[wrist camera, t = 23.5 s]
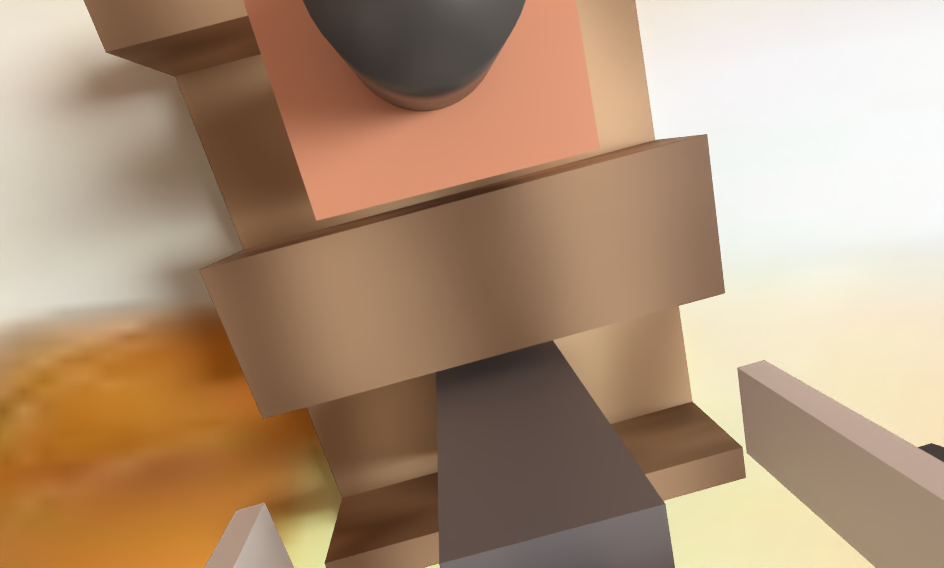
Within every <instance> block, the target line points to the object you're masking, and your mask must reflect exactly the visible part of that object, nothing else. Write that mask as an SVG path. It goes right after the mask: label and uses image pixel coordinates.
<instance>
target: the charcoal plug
mask: <svg viewBox="0 0 944 568" xmlns="http://www.w3.org/2000/svg"><path fill="white" fill-rule="evenodd" d="M436 396H437V459H438V523H439V565H440V568H675V565H674V559H673V552H672V545H671V539H670V532H669V525H668V519H667V512H666V506H665V503H664V501H663V500H662V499H661V497H660V496H659V494H658V493H657V491H656V490H655V488H654V487H653V485H652V484H651V483H650V481H649V480H648V478H647V477H646V475H645V474H644V472H643V471H642V469H641V468H640V466H639V465H638V464H637V462H636V461H635V459H634V458H633V456H632V455H631V453H630V452H629V450H628V449H627V448H626V446H625V445H624V443H623V442H622V440H621V439H620V437H619V436H618V434H617V433H616V432H615V430H614V429H613V427H612V426H611V424H610V423H609V421H608V420H607V418H606V417H605V415H604V414H603V413H602V411H601V410H600V408H599V407H598V405H597V404H596V402H595V401H594V399H593V398H592V397H591V395H590V394H589V392H588V391H587V389H586V388H585V386H584V385H583V383H582V382H581V381H580V379H579V378H578V376H577V375H576V373H575V372H574V370H573V369H572V367H571V366H570V364H569V363H568V362H567V360H566V359H565V357H564V356H563V354H562V353H561V351H560V350H559V348H558V347H557V346H556V344H555V343H554V341H553V340H551V341H548V342H544V343H540V344H537V345H533V346H529V347H526V348H522V349H518V350H515V351H511V352H507V353H504V354H500V355H496V356H493V357H489V358H485V359H482V360H478V361H474V362H471V363H467V364H464V365H460V366H456V367H453V368H449V369H445V370H442V371H438V372H436Z"/></svg>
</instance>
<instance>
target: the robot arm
mask: <svg viewBox="0 0 944 568" xmlns="http://www.w3.org/2000/svg"><path fill="white" fill-rule="evenodd" d="M737 369H738V378H739V387H740V395H741V404H742V413H743V422H744V431H745V440H746V449H747V453H748V454H749V455H750V456H751V457H752V458H753V459H754V460H755V461H757V462H758V463H759V464H760V465H761V466H762V467H763V468H764V469H766V470H767V471H768V472H769V473H770V474H771V475H772V476H773V477H775V478H776V479H777V480H778V481H779V482H780V483H781V484H782V485H784V486H785V487H786V488H787V489H788V490H789V491H790V492H791V493H793V494H794V495H795V496H796V497H797V498H798V499H799V500H800V501H802V502H803V503H804V504H805V505H806V506H807V507H808V508H809V509H811V510H812V511H813V512H814V513H815V514H816V515H817V516H818V517H820V518H821V519H822V520H823V521H824V522H825V523H826V524H827V525H829V526H830V527H831V528H832V529H833V530H834V531H835V532H836V533H838V534H839V535H840V536H841V537H842V538H843V539H844V540H845V541H847V542H848V543H849V544H850V545H851V546H852V547H853V548H854V549H856V550H857V551H858V552H859V553H860V554H861V555H862V556H863V557H865V558H866V559H867V560H868V561H869V562H870V563H871V564H872V565H874V566H875V567H876V568H944V447H941V446H938V445H935V444H932V443H931V444H928V445H924V446H921V447H916V446H914V445H912V444H911V443H909V442H907V441H905V440H904V439H902V438H900V437H898V436H897V435H895V434H893V433H891V432H890V431H888V430H886V429H884V428H882V427H881V426H879V425H877V424H875V423H874V422H872V421H870V420H868V419H867V418H865V417H863V416H861V415H860V414H858V413H856V412H854V411H853V410H851V409H849V408H847V407H846V406H844V405H842V404H840V403H839V402H837V401H835V400H833V399H832V398H830V397H828V396H826V395H825V394H823V393H821V392H819V391H818V390H816V389H814V388H812V387H810V386H809V385H807V384H805V383H803V382H802V381H800V380H798V379H796V378H795V377H793V376H791V375H789V374H788V373H786V372H784V371H782V370H781V369H779V368H777V367H775V366H774V365H772V364H770V363H768V362H767V361H765V360H763V361H759V362H756V363H752V364H749V365H745V366H742V367H738V368H737ZM205 568H294V566H293V564H292V562H291V560H290V558H289V555H288V553H287V551H286V549H285V546H284V544H283V542H282V540H281V538H280V535H279V533H278V531H277V529H276V526H275V524H274V522H273V520H272V518H271V515H270V513H269V511H268V509H267V506H266V504H265V502H264V503H261V504H257V505H254V506H250V507H247V508H243V509H240V510H236V512H235V513H234V515H233V517H232V519H231V521H230V522H229V524H228V526H227V528H226V530H225V531H224V533H223V535H222V537H221V539H220V540H219V542H218V544H217V546H216V548H215V550H214V551H213V553H212V555H211V557H210V559H209V560H208V562H207V564H206V566H205Z"/></svg>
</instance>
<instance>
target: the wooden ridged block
mask: <svg viewBox="0 0 944 568" xmlns="http://www.w3.org/2000/svg"><path fill="white" fill-rule="evenodd" d="M84 2H85V4H86V7H87V9H88V11H89V14H90V16H91V18H92V21H93V23H94V25H95V28H96V30H97V33H98V35H99V37H100V40H101V42H102V44H103V47H104V49H105V51H106V53H109V54H112V55H115V56H118V57H121V58H124V59H127V60H130V61H133V62H135V63H138V64H141V65H144V66H147V67H150V68H153V69H156V70H159V71H161V72H164V73H167V74H170V75H173V76H175V77H176V79H177V82H178V84H179V87H180V90H181V92H182V95H183V97H184V100H185V102H186V105H187V107H188V110H189V112H190V115H191V117H192V120H193V122H194V125H195V127H196V130H197V132H198V135H199V137H200V140H201V143H202V145H203V148H204V150H205V153H206V155H207V158H208V160H209V163H210V165H211V168H212V170H213V173H214V175H215V178H216V180H217V183H218V185H219V188H220V191H221V193H222V196H223V198H224V201H225V203H226V206H227V208H228V211H229V213H230V216H231V218H232V221H233V223H234V226H235V228H236V231H237V233H238V236H239V238H240V241H241V244H242V246H243V249H244V250H243V251H240V252H238V253H236V254H234V255H231V256H229V257H227V258H225V259H223V260H220V261H218V262H216V263H214V264H211V265H209V266H207V267H205V268H202V269H200V270H199V271H200V273H201V276H202V278H203V280H204V283H205V285H206V287H207V290H208V292H209V294H210V297H211V299H212V301H213V304H214V306H215V308H216V311H217V313H218V315H219V318H220V320H221V322H222V325H223V327H224V329H225V332H226V334H227V336H228V339H229V341H230V343H231V346H232V348H233V350H234V353H235V355H236V357H237V360H238V362H239V364H240V367H241V369H242V371H243V374H244V376H245V378H246V381H247V383H248V385H249V388H250V390H251V392H252V395H253V397H254V399H255V402H256V404H257V406H258V409H259V411H260V414H261V416H262V418H263V419H266V418H269V417H273V416H277V415H280V414H284V413H288V412H291V411H295V410H299V409H302V408H307V410H308V413H309V415H310V418H311V420H312V423H313V425H314V428H315V430H316V433H317V435H318V438H319V441H320V443H321V446H322V448H323V451H324V453H325V456H326V458H327V461H328V463H329V466H330V468H331V471H332V473H333V476H334V478H335V481H336V483H337V486H338V488H339V491H340V494H341V496H342V502H341V505H340V509H339V513H338V516H337V520H336V524H335V527H334V531H333V535H332V538H331V542H330V546H329V549H328V553H327V557H326V560H325V565H326V568H424V567H428V566H431V565H435V564H438V563H439V523H438V459H437V396H436V372H438V371H442V370H445V369H449V368H453V367H456V366H460V365H464V364H467V363H471V362H474V361H478V360H482V359H485V358H489V357H493V356H496V355H500V354H504V353H507V352H511V351H515V350H518V349H522V348H526V347H529V346H533V345H537V344H540V343H544V342H548V341H551V340H553V341H554V343H555V344H556V346H557V347H558V348H559V350H560V351H561V353H562V354H563V356H564V357H565V359H566V360H567V362H568V363H569V364H570V366H571V367H572V369H573V370H574V372H575V373H576V375H577V376H578V378H579V379H580V381H581V382H582V383H583V385H584V386H585V388H586V389H587V391H588V392H589V394H590V395H591V397H592V398H593V399H594V401H595V402H596V404H597V405H598V407H599V408H600V410H601V411H602V413H603V414H604V415H605V417H606V418H607V420H608V421H609V423H610V424H611V426H612V427H613V429H614V430H615V432H616V433H617V434H618V436H619V437H620V439H621V440H622V442H623V443H624V445H625V446H626V448H627V449H628V450H629V452H630V453H631V455H632V456H633V458H634V459H635V461H636V462H637V464H638V465H639V466H640V468H641V469H642V471H643V472H644V474H645V475H646V477H647V478H648V480H649V481H650V483H651V484H652V485H653V487H654V488H655V490H656V491H657V493H658V494H659V496H660V497H661V499H662V500H663V501H664V500H668V499H671V498H675V497H678V496H682V495H686V494H689V493H693V492H696V491H700V490H703V489H707V488H711V487H714V486H718V485H721V484H725V483H729V482H732V481H736V480H739V479H743V478H746V474H745V466H744V457H743V448H742V446H740V445H739V444H738V443H737V442H736V441H735V440H734V439H733V438H732V437H731V436H729V435H728V434H727V433H726V432H725V431H724V430H723V429H722V428H721V427H720V426H719V425H717V424H716V423H715V422H714V421H713V420H712V419H711V418H710V417H709V416H708V415H706V414H705V413H704V412H703V411H702V410H701V409H700V408H699V407H698V406H697V405H695V404H694V403H693V402H692V396H691V389H690V382H689V375H688V368H687V361H686V354H685V347H684V340H683V333H682V326H681V319H680V312H679V306H680V305H683V304H687V303H691V302H694V301H698V300H702V299H705V298H709V297H713V296H716V295H720V294H724V293H725V289H724V280H723V271H722V262H721V253H720V245H719V236H718V227H717V218H716V209H715V200H714V191H713V183H712V174H711V165H710V156H709V147H708V138H707V134H704V135H696V136H687V137H678V138H669V139H660V140H655V136H654V129H653V122H652V115H651V108H650V101H649V94H648V87H647V80H646V73H645V66H644V59H643V52H642V45H641V38H640V31H639V24H638V17H637V10H636V3H635V0H576V3H577V9H578V15H579V21H580V28H581V34H582V40H583V46H584V52H585V59H586V65H587V71H588V77H589V84H590V90H591V96H592V102H593V108H594V115H595V121H596V127H597V133H598V139H599V146H600V149H599V150H595V151H591V152H587V153H583V154H579V155H575V156H571V157H567V158H563V159H559V160H556V161H552V162H548V163H544V164H540V165H536V166H532V167H528V168H524V169H520V170H516V171H512V172H508V173H504V174H500V175H496V176H492V177H488V178H484V179H480V180H476V181H472V182H468V183H464V184H460V185H457V186H453V187H449V188H445V189H441V190H437V191H433V192H429V193H425V194H421V195H417V196H413V197H409V198H405V199H401V200H397V201H393V202H389V203H385V204H381V205H377V206H373V207H369V208H365V209H361V210H358V211H354V212H350V213H346V214H342V215H338V216H334V217H330V218H326V219H322V220H318V221H316V218H315V215H314V212H313V209H312V206H311V203H310V200H309V197H308V194H307V191H306V188H305V185H304V182H303V179H302V176H301V173H300V170H299V167H298V164H297V161H296V158H295V155H294V152H293V149H292V146H291V143H290V140H289V137H288V134H287V131H286V128H285V125H284V122H283V119H282V116H281V113H280V110H279V107H278V104H277V101H276V98H275V95H274V92H273V89H272V86H271V83H270V80H269V77H268V74H267V71H266V68H265V65H264V62H263V59H262V56H261V53H260V50H259V47H258V44H257V41H256V38H255V35H254V32H253V29H252V26H251V23H250V20H249V17H248V14H247V11H246V8H245V5H244V2H243V0H84Z"/></svg>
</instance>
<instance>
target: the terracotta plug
mask: <svg viewBox="0 0 944 568" xmlns="http://www.w3.org/2000/svg"><path fill="white" fill-rule="evenodd" d="M243 2H244V5H245V8H246V11H247V14H248V17H249V20H250V23H251V26H252V29H253V32H254V35H255V38H256V41H257V44H258V47H259V50H260V53H261V56H262V59H263V62H264V65H265V68H266V71H267V74H268V77H269V80H270V83H271V86H272V89H273V92H274V95H275V98H276V101H277V104H278V107H279V110H280V113H281V116H282V119H283V122H284V125H285V128H286V131H287V134H288V137H289V140H290V143H291V146H292V149H293V152H294V155H295V158H296V161H297V164H298V167H299V170H300V173H301V176H302V179H303V182H304V185H305V188H306V191H307V194H308V197H309V200H310V203H311V206H312V209H313V212H314V215H315V218H316V221H318V220H322V219H326V218H330V217H334V216H338V215H342V214H346V213H350V212H354V211H358V210H361V209H365V208H369V207H373V206H377V205H381V204H385V203H389V202H393V201H397V200H401V199H405V198H409V197H413V196H417V195H421V194H425V193H429V192H433V191H437V190H441V189H445V188H449V187H453V186H457V185H460V184H464V183H468V182H472V181H476V180H480V179H484V178H488V177H492V176H496V175H500V174H504V173H508V172H512V171H516V170H520V169H524V168H528V167H532V166H536V165H540V164H544V163H548V162H552V161H556V160H559V159H563V158H567V157H571V156H575V155H579V154H583V153H587V152H591V151H595V150H599V149H600V146H599V139H598V133H597V127H596V121H595V115H594V108H593V102H592V96H591V90H590V84H589V77H588V71H587V65H586V59H585V52H584V46H583V40H582V34H581V28H580V21H579V15H578V9H577V3H576V0H243Z"/></svg>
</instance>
